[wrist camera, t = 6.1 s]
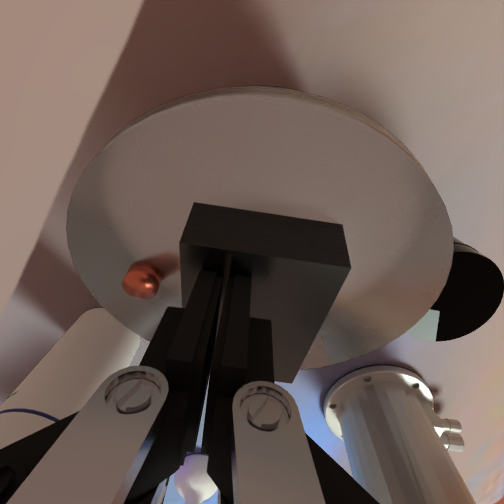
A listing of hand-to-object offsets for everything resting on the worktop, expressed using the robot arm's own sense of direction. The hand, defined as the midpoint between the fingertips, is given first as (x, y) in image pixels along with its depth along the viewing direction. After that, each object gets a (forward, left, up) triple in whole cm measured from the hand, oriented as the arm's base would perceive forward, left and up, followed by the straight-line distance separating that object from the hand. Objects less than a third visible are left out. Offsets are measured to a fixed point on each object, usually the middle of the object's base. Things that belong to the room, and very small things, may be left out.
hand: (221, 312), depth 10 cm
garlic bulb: (+1, +40, -20) cm, 44 cm away
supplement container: (-14, +3, -20) cm, 24 cm away
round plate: (-1, +1, -4) cm, 4 cm away
